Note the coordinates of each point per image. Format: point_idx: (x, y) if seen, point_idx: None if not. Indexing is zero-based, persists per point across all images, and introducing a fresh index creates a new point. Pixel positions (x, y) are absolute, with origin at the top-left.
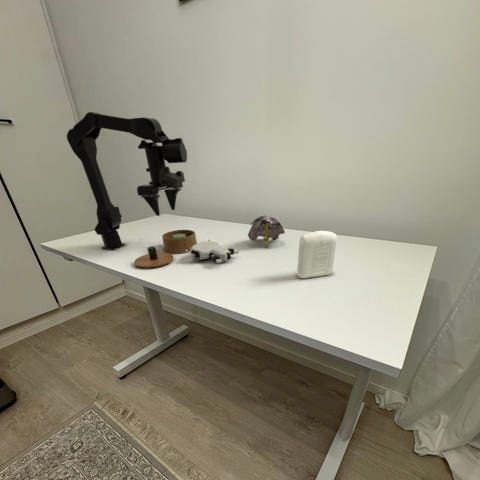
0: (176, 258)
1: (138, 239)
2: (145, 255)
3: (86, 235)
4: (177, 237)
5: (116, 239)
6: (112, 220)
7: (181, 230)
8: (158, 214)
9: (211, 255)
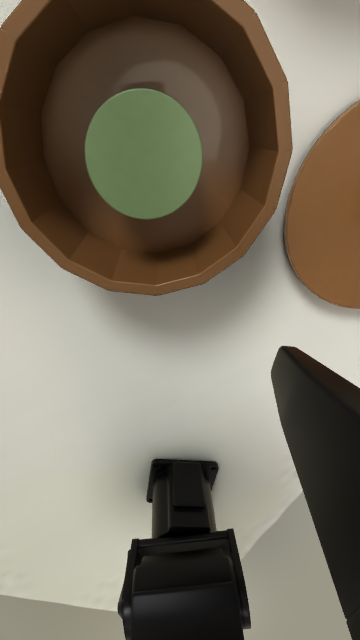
0: (346, 82)
1: (67, 452)
2: (334, 288)
3: (82, 596)
4: (199, 144)
5: (198, 491)
6: (233, 586)
7: (20, 197)
8: (305, 355)
9: None
